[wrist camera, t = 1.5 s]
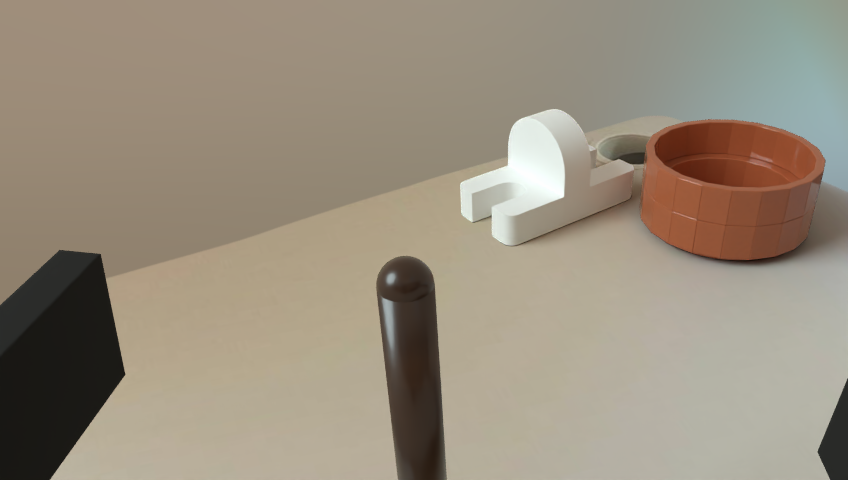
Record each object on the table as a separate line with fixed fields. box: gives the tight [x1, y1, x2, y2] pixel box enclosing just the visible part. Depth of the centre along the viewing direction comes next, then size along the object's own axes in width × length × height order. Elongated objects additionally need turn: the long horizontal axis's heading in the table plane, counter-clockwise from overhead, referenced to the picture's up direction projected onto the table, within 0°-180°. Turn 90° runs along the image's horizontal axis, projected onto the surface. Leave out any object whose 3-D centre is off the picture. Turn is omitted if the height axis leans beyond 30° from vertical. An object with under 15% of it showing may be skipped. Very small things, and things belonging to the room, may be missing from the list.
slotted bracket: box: [460, 109, 634, 246], centre depth 59 cm, size 13×7×8 cm, turn 122°
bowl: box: [639, 119, 825, 260], centre depth 56 cm, size 12×12×6 cm
